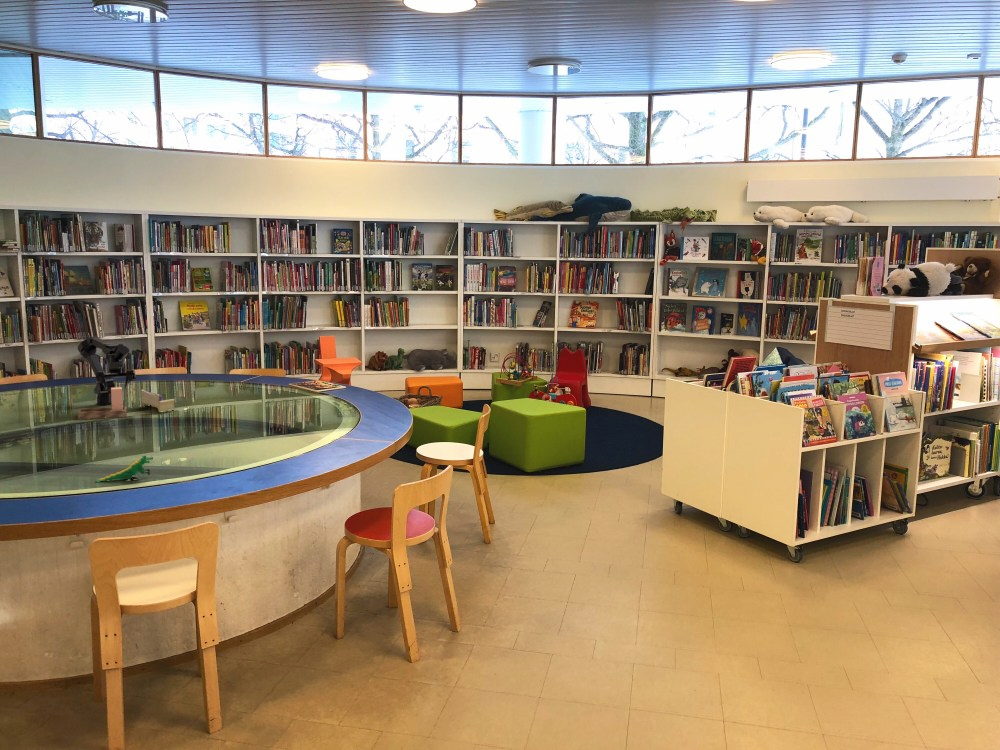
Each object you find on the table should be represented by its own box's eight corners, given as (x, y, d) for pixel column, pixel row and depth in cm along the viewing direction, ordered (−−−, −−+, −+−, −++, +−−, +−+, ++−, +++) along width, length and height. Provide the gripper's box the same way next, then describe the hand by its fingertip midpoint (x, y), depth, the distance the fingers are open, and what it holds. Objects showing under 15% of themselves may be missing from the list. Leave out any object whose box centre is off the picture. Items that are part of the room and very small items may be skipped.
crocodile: (95, 484, 297) (94, 461, 296) (96, 479, 303) (95, 457, 301) (153, 479, 305) (153, 457, 304) (153, 475, 311) (153, 453, 309)
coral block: (111, 412, 407) (111, 389, 405) (112, 410, 411) (111, 387, 409) (122, 411, 409) (121, 388, 407) (122, 410, 413) (122, 387, 411)
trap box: (78, 419, 398) (77, 412, 398) (79, 415, 407) (79, 408, 407) (126, 417, 407) (126, 410, 407) (126, 413, 416) (126, 406, 416)
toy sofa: (175, 411, 426) (175, 392, 424) (159, 413, 419) (159, 394, 418) (155, 405, 439) (155, 387, 437) (140, 407, 432) (139, 389, 431)
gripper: (94, 356, 413) (93, 381, 406) (133, 354, 420) (133, 379, 412) (97, 368, 422) (96, 393, 415) (135, 366, 429) (136, 390, 421)
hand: (115, 388), depth 415 cm, fingers open, 9 cm apart
